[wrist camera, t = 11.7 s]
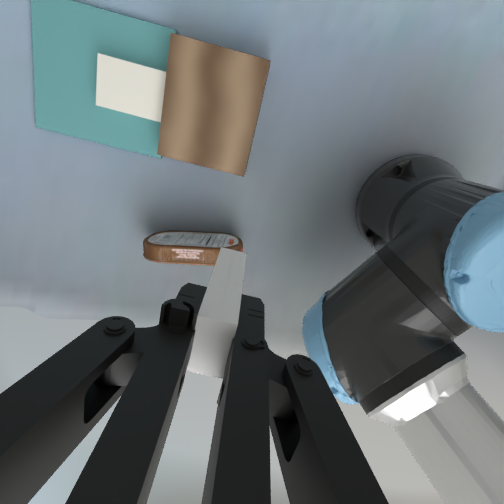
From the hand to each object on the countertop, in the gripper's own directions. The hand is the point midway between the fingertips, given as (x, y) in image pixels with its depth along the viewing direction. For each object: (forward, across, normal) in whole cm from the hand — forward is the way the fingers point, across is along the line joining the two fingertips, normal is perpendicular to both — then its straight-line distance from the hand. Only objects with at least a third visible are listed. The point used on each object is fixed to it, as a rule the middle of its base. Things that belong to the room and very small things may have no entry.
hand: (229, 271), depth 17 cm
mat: (+30, +22, -8) cm, 39 cm away
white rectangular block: (+30, +18, -8) cm, 36 cm away
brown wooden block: (+30, +7, -8) cm, 32 cm away
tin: (+31, +6, +11) cm, 33 cm away
